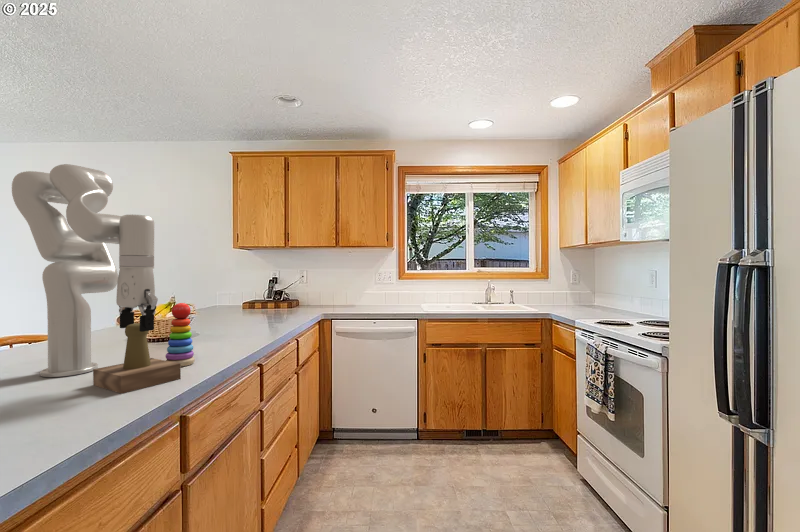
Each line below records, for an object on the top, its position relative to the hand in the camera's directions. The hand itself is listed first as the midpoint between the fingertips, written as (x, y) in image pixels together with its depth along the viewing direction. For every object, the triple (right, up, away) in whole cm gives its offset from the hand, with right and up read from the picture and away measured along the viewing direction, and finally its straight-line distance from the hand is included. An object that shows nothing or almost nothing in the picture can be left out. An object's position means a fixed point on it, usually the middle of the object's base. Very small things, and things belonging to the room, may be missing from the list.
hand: (136, 329), depth 102 cm
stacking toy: (+1, -14, +18) cm, 23 cm away
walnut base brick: (+1, -14, 0) cm, 14 cm away
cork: (0, -10, 0) cm, 10 cm away
